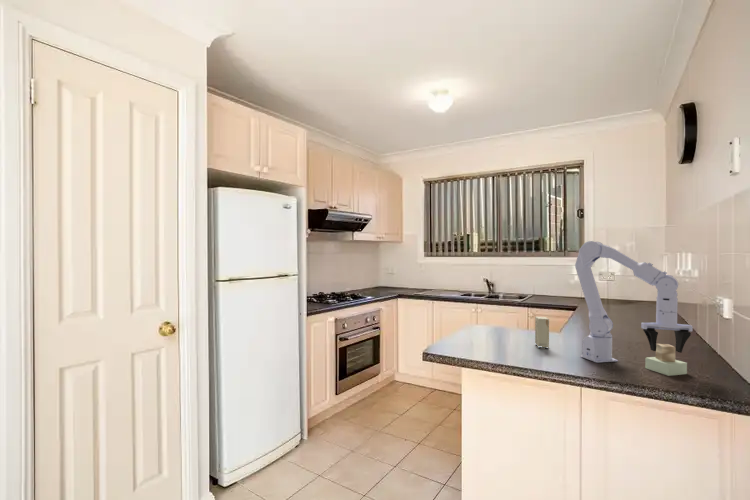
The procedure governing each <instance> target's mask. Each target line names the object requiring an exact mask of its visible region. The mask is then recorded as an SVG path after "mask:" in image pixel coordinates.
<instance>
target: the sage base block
mask: <svg viewBox="0 0 750 500" xmlns="http://www.w3.org/2000/svg"><path fill="white" fill-rule="evenodd" d="M644 362H645V363H644V364H645V366H644V367H645V369H647V370H649V371H653V372H655V373H659V374H662V375H664V376H668V377H670V376H678V375H679V376H681V375H687V374H688V362H685V361H682V360H677V359H675V362H666V361H660V360H658V359H657V358H656V356H650V357H648V356H647V357H645V361H644Z"/></svg>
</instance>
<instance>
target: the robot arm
mask: <svg viewBox="0 0 750 500" xmlns="http://www.w3.org/2000/svg"><path fill="white" fill-rule="evenodd" d="M577 254H578V255H577V257H576V261H575V264H574V267H575V270H576V274H577V277H578V279H579V284H580V287H581V290H582V293H583V297H584V301H585V302H586V306H587V310H588V320H589V325H588V329H589V331H590V332H589V335H587V336H584V338H583V339H582V347H581V348H582V350H581V352H582V353H581V354H580V358H583V359H586V360H588V361H592V362H594V363H610V362H611V363H612V362H613V363H614V362H618V361H619V360H618V359H616V358H614V357H613V335H612V333H611V331H613V328H614V323H613V321H612V319H611V318H610V317H609V316H608V313H607V311H606V310H605V308H604V306H603V302H602V299H601V296H600V293H599V289H598V286H597V283H596V280H595V276H594V274H593V270H592V266H593V265H594V264H595V263H596V261H598V260H599V259H600V258H604V259H611V260H612V261H615V262H617V263H618V264H620V265H621V266H624V267H626V268H628V269H630V270H632V273H633V275H634V276H635V277H636V278H638V279H640V280H642V281H643V282H645V283H647V284H648V285H650V286H652V287H653V286H655V288H656V291H657V296H656V302H655V303H656V305H655V308H656V309H655V311H656V312H655V322H652V321H651V322H641V325H640V329H642V331H643V332H644V334H645V336H646V339H647V341H648V343H649V346H650V347H649V348H650V350H651V351H653V352H656V344H657V340H658V335H659V332H658V331H657V330H662V331H674V336H675V337H674V338H675V352H677V353H679V354H680V353H683V349H684V347H685V344H686V342H687V341H688V339H689V338H690V337H691V335H692V333H691V332H693V329H694V327H693V325H691V324H683V323H682V324H681V323H678V303H679V301H678V300H679V299H678V291H677V290H678V288H679V282H678V280H677V279H676V277H674V275H670V274H668V272H667V271H662V270H661V269H658V268H657V267H654V266H653V265H654V264H653V263H651V262H645V261H643V262H638V261H636V260H634V259H633V258H631V257H630V256H628V255H626V254H624V253H622V252H621V251H619V250H617V249H616V248H614V247H612V246H610V245H607V244H603V242H600V241H593V240H589V241H588V240H587V241H585V242H584V243H583V244H582V245H581V247H580V248H579V249H578V253H577Z"/></svg>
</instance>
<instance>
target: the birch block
mask: <svg viewBox="0 0 750 500" xmlns="http://www.w3.org/2000/svg"><path fill="white" fill-rule="evenodd" d="M655 357H656V358H657V359H658V360H660V361H666V362H675V360H676V346H675V345H671V344H669V343H656V351H655Z"/></svg>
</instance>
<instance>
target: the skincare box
mask: <svg viewBox="0 0 750 500" xmlns="http://www.w3.org/2000/svg"><path fill="white" fill-rule="evenodd" d="M534 321H535V323H534V324H535V325H534V326H535V327H534V329H535V330H534V333H535V335H534V337H535V338H534V340H535V341H534V344H535V343H536V344H537V345H538V346H542V347H548V348H549V349H550V319H549V318H548V317H546V316H535V319H534Z"/></svg>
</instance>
